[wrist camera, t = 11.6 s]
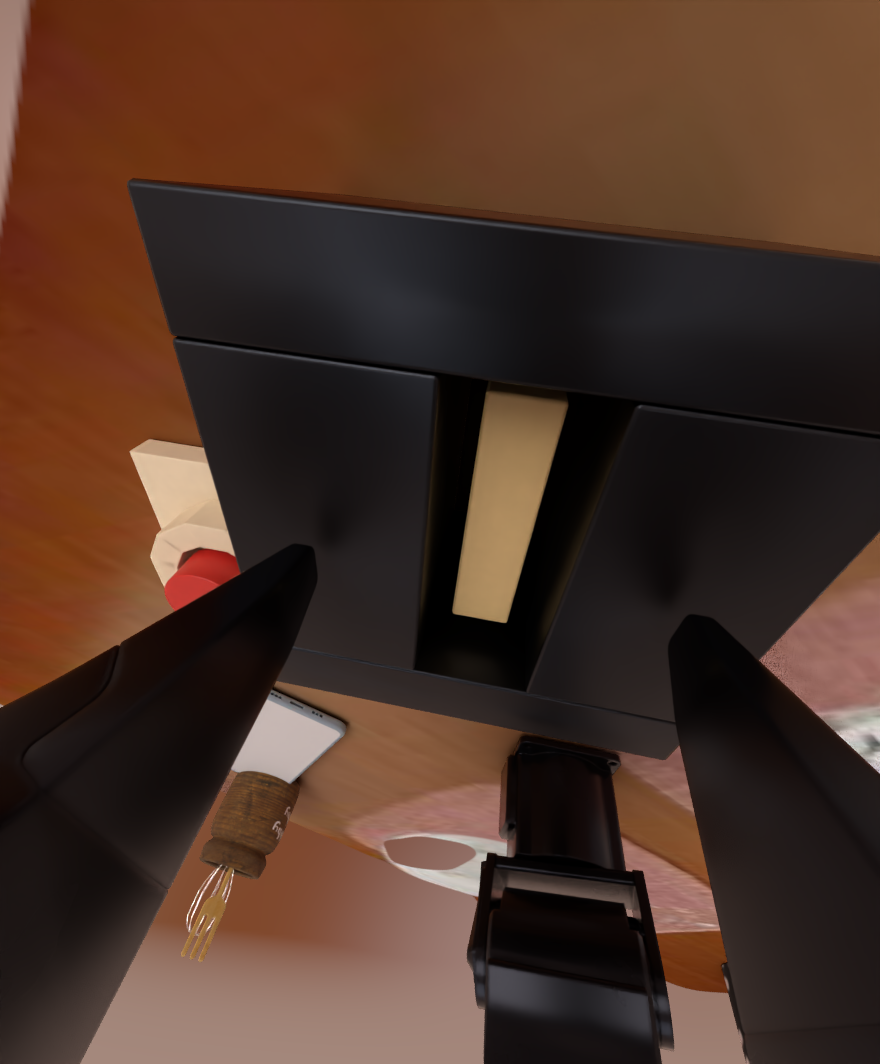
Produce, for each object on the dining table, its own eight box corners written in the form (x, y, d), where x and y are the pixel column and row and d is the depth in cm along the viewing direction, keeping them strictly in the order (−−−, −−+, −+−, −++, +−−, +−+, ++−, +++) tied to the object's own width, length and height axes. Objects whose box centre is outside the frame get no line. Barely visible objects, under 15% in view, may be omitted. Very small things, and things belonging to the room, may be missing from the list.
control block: (149, 438, 18) (92, 472, 16) (327, 467, 18) (296, 507, 15) (208, 597, 24) (174, 638, 22) (341, 622, 24) (321, 667, 21)
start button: (180, 540, 18) (151, 568, 17) (260, 555, 18) (237, 584, 16) (202, 598, 20) (178, 626, 19) (273, 612, 20) (255, 642, 18)
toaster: (335, 193, 12) (120, 176, 6) (779, 242, 11) (1115, 288, 5) (353, 527, 19) (270, 681, 13) (618, 574, 18) (665, 761, 12)
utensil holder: (237, 771, 41) (149, 940, 32) (246, 755, 36) (147, 946, 28) (294, 793, 42) (224, 963, 33) (309, 780, 37) (233, 971, 29)
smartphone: (347, 733, 30) (283, 792, 38) (352, 720, 31) (288, 780, 39) (237, 684, 28) (196, 756, 37) (245, 671, 29) (202, 745, 38)
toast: (502, 319, 13) (485, 390, 8) (553, 326, 13) (570, 402, 8) (474, 494, 17) (451, 614, 12) (513, 500, 17) (506, 624, 12)
